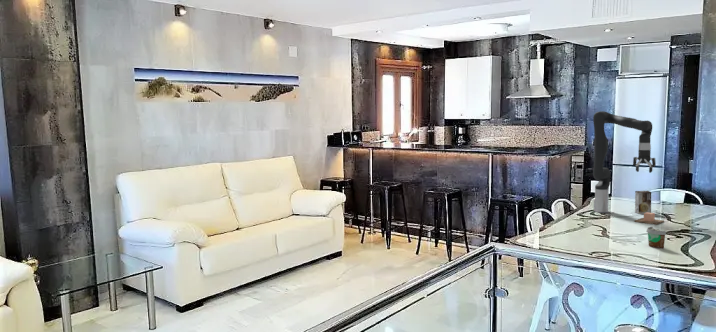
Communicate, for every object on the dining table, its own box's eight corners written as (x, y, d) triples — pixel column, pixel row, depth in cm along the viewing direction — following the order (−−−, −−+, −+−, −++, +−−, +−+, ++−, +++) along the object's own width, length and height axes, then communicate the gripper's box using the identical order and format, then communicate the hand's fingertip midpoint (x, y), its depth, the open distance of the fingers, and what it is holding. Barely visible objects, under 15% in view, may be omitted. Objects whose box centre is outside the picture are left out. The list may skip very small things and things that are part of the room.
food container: (641, 244, 308) (641, 226, 307) (651, 243, 309) (651, 226, 308) (655, 249, 296) (655, 231, 295) (665, 248, 297) (666, 231, 295)
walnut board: (634, 221, 365) (634, 220, 365) (642, 219, 373) (642, 217, 373) (656, 224, 354) (656, 223, 354) (664, 222, 362) (664, 220, 362)
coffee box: (647, 212, 396) (647, 190, 394) (651, 213, 390) (651, 191, 388) (634, 212, 397) (635, 190, 395) (638, 213, 391) (638, 192, 389)
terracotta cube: (643, 220, 364) (643, 213, 363) (646, 219, 367) (647, 212, 366) (651, 221, 360) (651, 214, 359) (654, 220, 363) (654, 213, 363)
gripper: (631, 149, 378) (631, 171, 380) (652, 149, 367) (652, 173, 369) (636, 148, 383) (635, 170, 385) (657, 149, 372) (657, 172, 373)
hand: (644, 172), depth 377 cm, fingers open, 8 cm apart
